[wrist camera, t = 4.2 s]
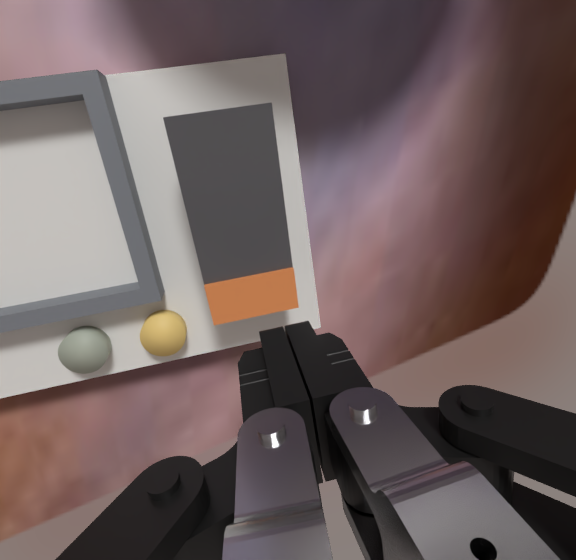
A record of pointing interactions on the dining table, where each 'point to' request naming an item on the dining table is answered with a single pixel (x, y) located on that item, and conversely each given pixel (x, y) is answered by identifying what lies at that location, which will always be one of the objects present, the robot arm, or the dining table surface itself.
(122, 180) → the panel
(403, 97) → the dining table surface
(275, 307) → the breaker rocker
